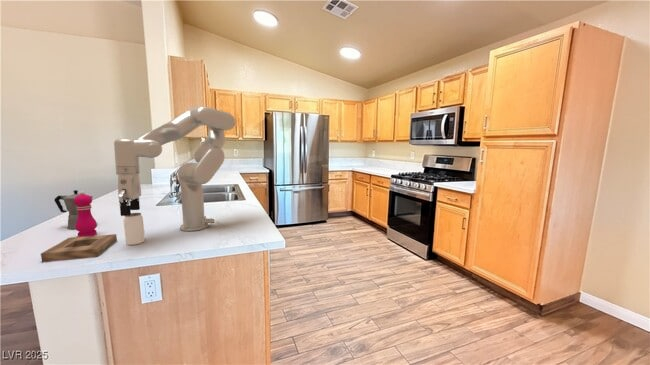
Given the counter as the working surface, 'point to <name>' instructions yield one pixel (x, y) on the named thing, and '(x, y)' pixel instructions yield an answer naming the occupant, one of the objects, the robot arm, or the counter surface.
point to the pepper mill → (84, 216)
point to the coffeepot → (69, 208)
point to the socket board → (79, 248)
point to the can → (134, 229)
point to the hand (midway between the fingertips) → (130, 212)
